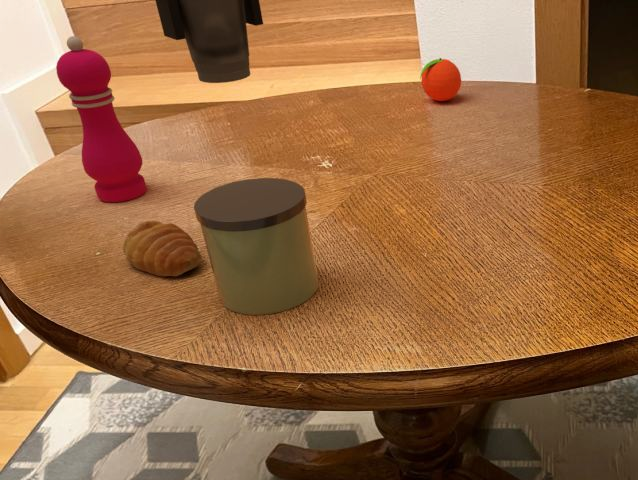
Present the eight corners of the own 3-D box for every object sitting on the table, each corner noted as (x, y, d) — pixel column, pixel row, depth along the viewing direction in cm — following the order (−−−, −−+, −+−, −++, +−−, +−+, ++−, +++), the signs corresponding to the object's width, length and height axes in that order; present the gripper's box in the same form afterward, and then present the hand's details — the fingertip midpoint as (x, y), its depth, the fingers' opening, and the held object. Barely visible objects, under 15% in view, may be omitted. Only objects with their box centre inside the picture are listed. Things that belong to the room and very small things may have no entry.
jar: (201, 288, 76) (176, 198, 70) (289, 256, 81) (272, 169, 76) (246, 328, 69) (223, 232, 64) (339, 289, 75) (325, 197, 69)
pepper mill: (83, 203, 96) (26, 43, 85) (113, 182, 102) (64, 30, 91) (132, 205, 95) (81, 43, 84) (160, 184, 101) (116, 29, 90)
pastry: (219, 263, 80) (211, 232, 78) (164, 288, 76) (153, 256, 74) (174, 241, 86) (165, 210, 84) (120, 263, 82) (109, 232, 80)
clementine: (434, 110, 124) (431, 66, 120) (410, 102, 128) (406, 60, 124) (470, 100, 128) (468, 57, 124) (445, 92, 132) (443, 51, 128)
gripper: (-4, -353, 43) (117, 57, 56) (288, -326, 53) (333, 17, 66) (-31, -329, 48) (86, 44, 61) (241, -308, 58) (291, 7, 71)
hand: (214, 29), depth 63 cm, fingers closed on beverage cup, 6 cm apart
